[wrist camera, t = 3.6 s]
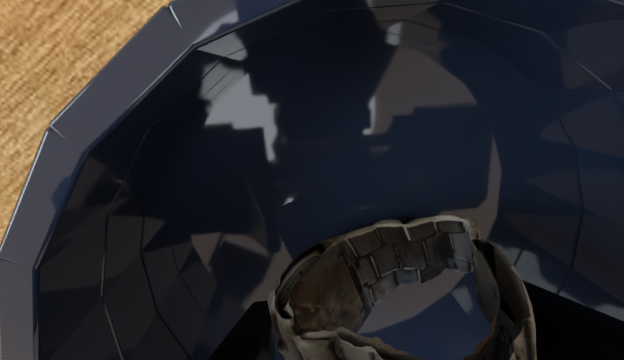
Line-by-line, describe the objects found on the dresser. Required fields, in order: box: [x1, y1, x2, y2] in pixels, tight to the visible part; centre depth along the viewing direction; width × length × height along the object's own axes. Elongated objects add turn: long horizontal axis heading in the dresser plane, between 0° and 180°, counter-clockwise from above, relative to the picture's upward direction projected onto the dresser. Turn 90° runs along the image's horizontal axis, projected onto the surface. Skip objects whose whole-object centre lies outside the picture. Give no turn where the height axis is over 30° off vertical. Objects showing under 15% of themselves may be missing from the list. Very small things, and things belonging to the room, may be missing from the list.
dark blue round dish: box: [0, 0, 624, 360], centre depth 8 cm, size 14×14×4 cm
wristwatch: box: [267, 214, 537, 360], centre depth 8 cm, size 3×5×5 cm
